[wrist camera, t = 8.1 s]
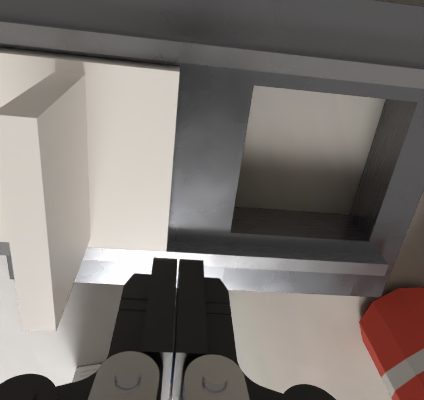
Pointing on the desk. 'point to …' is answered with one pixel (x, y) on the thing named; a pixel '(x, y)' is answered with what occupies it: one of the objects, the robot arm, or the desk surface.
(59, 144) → the t-shaped bracket
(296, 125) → the desk surface
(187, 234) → the socket plate
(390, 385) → the beverage can
